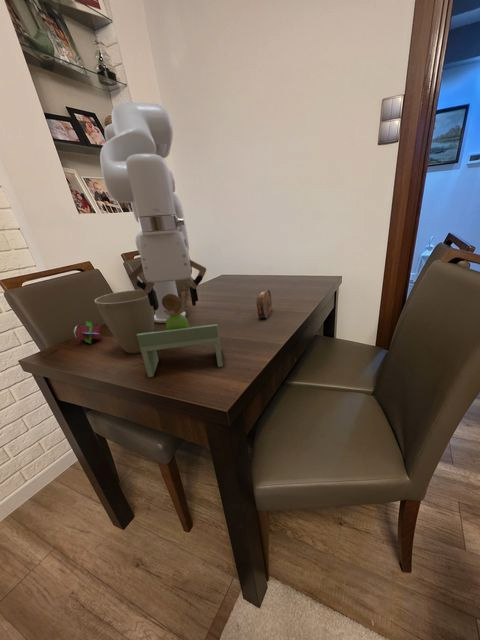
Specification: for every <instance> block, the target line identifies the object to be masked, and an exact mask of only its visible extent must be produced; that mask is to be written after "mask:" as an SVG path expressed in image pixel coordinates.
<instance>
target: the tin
mask: <svg viewBox="0 0 480 640" xmlns="http://www.w3.org/2000/svg"><path fill="white" fill-rule="evenodd" d="M271 294H272V293H271V291H270V290H269V289H265V290H264V289H263V290H261V291H260V293H259V294H258V296H257V297H256V308H257V316H258V318H259V319H268V317H269V316H270V314H271V312H272V304H273V303H272V295H271Z"/></svg>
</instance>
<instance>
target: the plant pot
mask: <svg viewBox="0 0 480 640" xmlns="http://www.w3.org/2000/svg"><path fill="white" fill-rule="evenodd" d="M94 304H95V305H96V307H97V310H98V312H99V314H100V316H101V318H102V319H103V321H104V323H105V325H106V327H107V328H108V330H109V331H110V333H111V334H112V336H113V337H114V339H115V341H116V342H117V343H118V344H119V345H120V347H121V348H122V349H123V351H124V352H125V353H127V354H138V353H139V354H140V353H141V349H140V346H139V342H138V339H137V334H140V333H149V332H154V328H155V322H154V315H155V310H154V309H153V306H150V302H149V298H148V294H147V293H146V292H145V291H144V290H142V289H132V290H123V291H119V292H118V291H117V292H113V293H108V294H104V295H101V296H98V297H96V298H95V299H94Z"/></svg>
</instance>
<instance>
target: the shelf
mask: <svg viewBox="0 0 480 640" xmlns="http://www.w3.org/2000/svg"><path fill="white" fill-rule="evenodd" d="M137 339H138V342H139V346H140V349H141V352H140V353H141V356H142V360H143V363H144V367H145V371H146V375H147V378H153V377H154V375H155V373H156V369H157V367H158V364H159V356H158V352H157V351H160V350H168V349H174V348H175V349H176V348H183V347H191V346H197V345H206V344H213V343H214V349H215V356H216V363H217V368H222V367H224V365H223V357H222V349H221V342H220V335H219V327H218V324H217V323H215V324H206V325H200V326H190V327H189V328H181V329H173V330H167V329H166V330H158V331H153V332H149V333H140V334H137Z"/></svg>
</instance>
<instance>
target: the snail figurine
mask: <svg viewBox="0 0 480 640" xmlns="http://www.w3.org/2000/svg"><path fill="white" fill-rule="evenodd" d="M186 288H187V286H186V285H183V286H182V289H183V290H182V291H181V292H180V296H181V299H180V297H179V295H178V296H176V295H174V294H167V295H165V296H164V297H163V299H162V304H163V307H164V308H165V309H166V310H164V312H165V313H166V314H168V315H171V316H169V317H168V318H167V320H166V323H165V329H166V330H173V329H181V328H189V326H190V323H189V320H188V319H187V317H186V316H183V315H181V313H182V312H185V310H186V308H187V296H188V292H187V291H186Z"/></svg>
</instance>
